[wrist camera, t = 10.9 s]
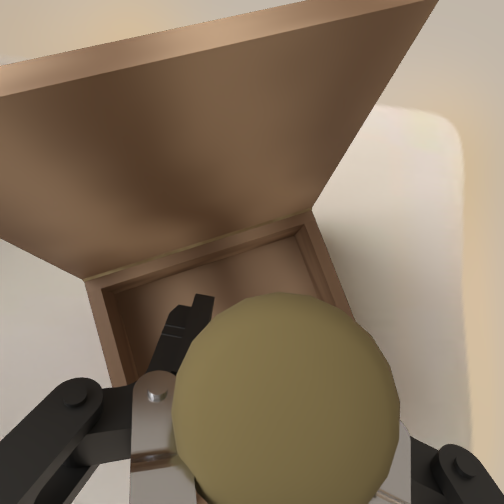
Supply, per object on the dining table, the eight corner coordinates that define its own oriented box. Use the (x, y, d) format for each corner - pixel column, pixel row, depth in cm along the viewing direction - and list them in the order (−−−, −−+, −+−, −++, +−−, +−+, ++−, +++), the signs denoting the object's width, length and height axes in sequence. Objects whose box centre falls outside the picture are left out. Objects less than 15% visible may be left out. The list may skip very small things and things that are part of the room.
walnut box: (165, 508, 23) (154, 545, 19) (103, 287, 26) (83, 280, 22) (372, 420, 25) (400, 436, 22) (297, 225, 28) (310, 208, 24)
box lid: (-194, 144, 7) (-196, 104, 8) (87, 283, 22) (83, 268, 22) (442, -1, 10) (426, -29, 10) (309, 212, 25) (304, 200, 25)
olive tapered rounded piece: (326, 322, 18) (469, 307, 8) (299, 448, 17) (426, 649, 6) (212, 290, 18) (192, 229, 8) (175, 415, 17) (86, 558, 6)
